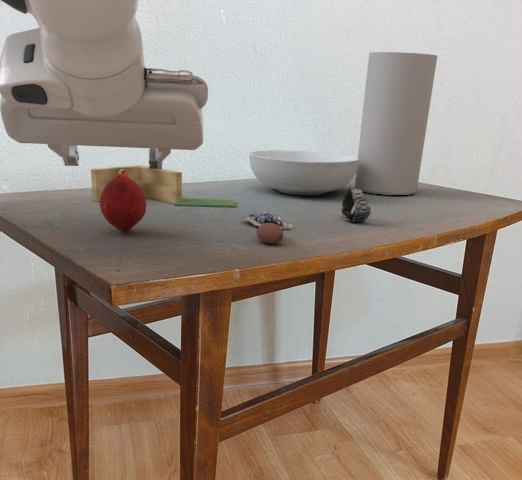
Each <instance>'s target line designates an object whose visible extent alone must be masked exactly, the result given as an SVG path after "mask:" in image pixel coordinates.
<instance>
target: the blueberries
mask: <svg viewBox="0 0 522 480" xmlns="http://www.w3.org/2000/svg"><path fill="white" fill-rule="evenodd" d="M241 219H243V220H244V221H247V222H250V224H253V226H255V227H259V226H260V225H262V224H265V223H273V224H276V225H277V226H279V227H280V228H281V229H282V230H292V229H294V226H293V225H292V224H290V223H288V222H286V223H285V222H283V221H284V219H281V216H280V217H277V216H275V215H273V214H271V213H270V212H268V211H264V212H263V214H262V213H261V212H257V211H255V212H253V213H251V214H247V216H241Z"/></svg>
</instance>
